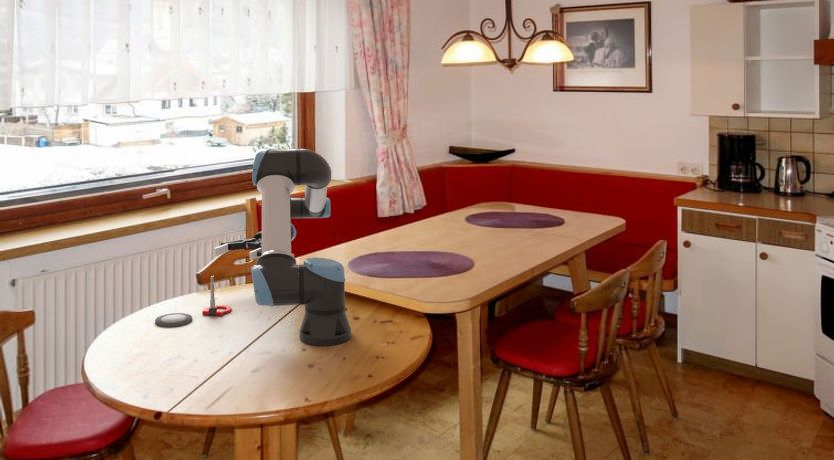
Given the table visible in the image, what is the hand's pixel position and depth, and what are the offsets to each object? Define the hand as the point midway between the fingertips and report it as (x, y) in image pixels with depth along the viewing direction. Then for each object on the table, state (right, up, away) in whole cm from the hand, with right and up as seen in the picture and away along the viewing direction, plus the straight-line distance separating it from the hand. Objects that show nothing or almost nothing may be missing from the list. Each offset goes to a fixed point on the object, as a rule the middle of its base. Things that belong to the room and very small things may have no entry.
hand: (232, 254), depth 247 cm
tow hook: (-4, -19, -5) cm, 20 cm away
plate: (-15, -20, -15) cm, 29 cm away
